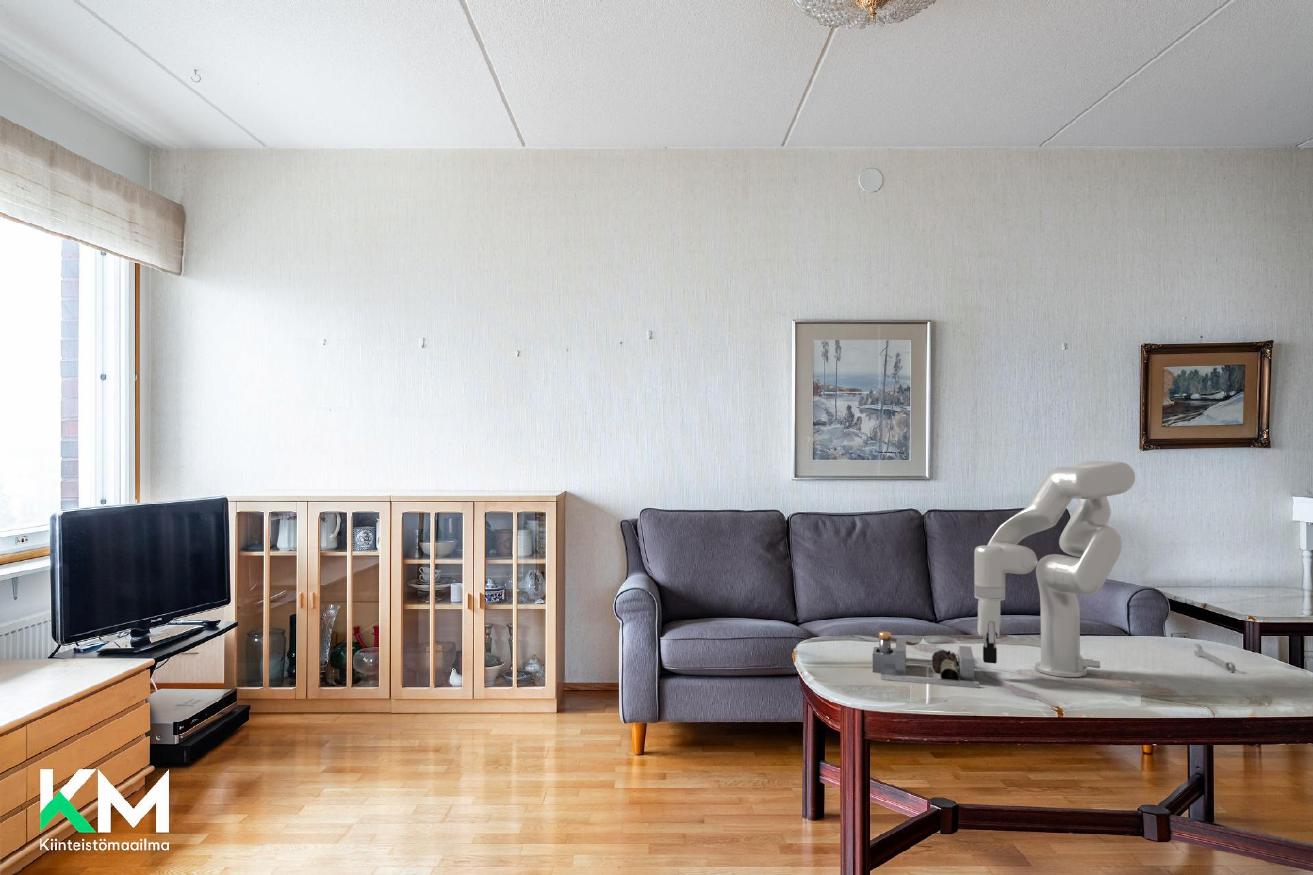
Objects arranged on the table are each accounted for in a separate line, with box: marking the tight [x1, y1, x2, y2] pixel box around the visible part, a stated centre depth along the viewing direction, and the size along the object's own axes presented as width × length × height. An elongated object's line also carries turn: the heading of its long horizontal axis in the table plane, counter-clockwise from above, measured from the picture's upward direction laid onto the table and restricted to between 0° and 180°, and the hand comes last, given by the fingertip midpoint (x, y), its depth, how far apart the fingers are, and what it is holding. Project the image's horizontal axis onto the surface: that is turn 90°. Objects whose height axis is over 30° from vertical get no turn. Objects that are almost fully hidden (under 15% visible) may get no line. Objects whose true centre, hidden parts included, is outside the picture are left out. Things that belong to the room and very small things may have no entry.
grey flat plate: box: [880, 656, 980, 689], centre depth 212 cm, size 24×20×1 cm
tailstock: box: [872, 638, 907, 676], centre depth 215 cm, size 8×14×7 cm, turn 161°
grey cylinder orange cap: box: [878, 631, 892, 653], centre depth 216 cm, size 3×3×10 cm
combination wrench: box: [1193, 643, 1236, 674], centre depth 221 cm, size 4×1×20 cm
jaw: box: [957, 645, 975, 681], centre depth 209 cm, size 3×14×6 cm, turn 161°
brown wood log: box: [931, 649, 961, 680], centre depth 211 cm, size 18×7×6 cm, turn 161°
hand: (989, 662), depth 207 cm, fingers closed
